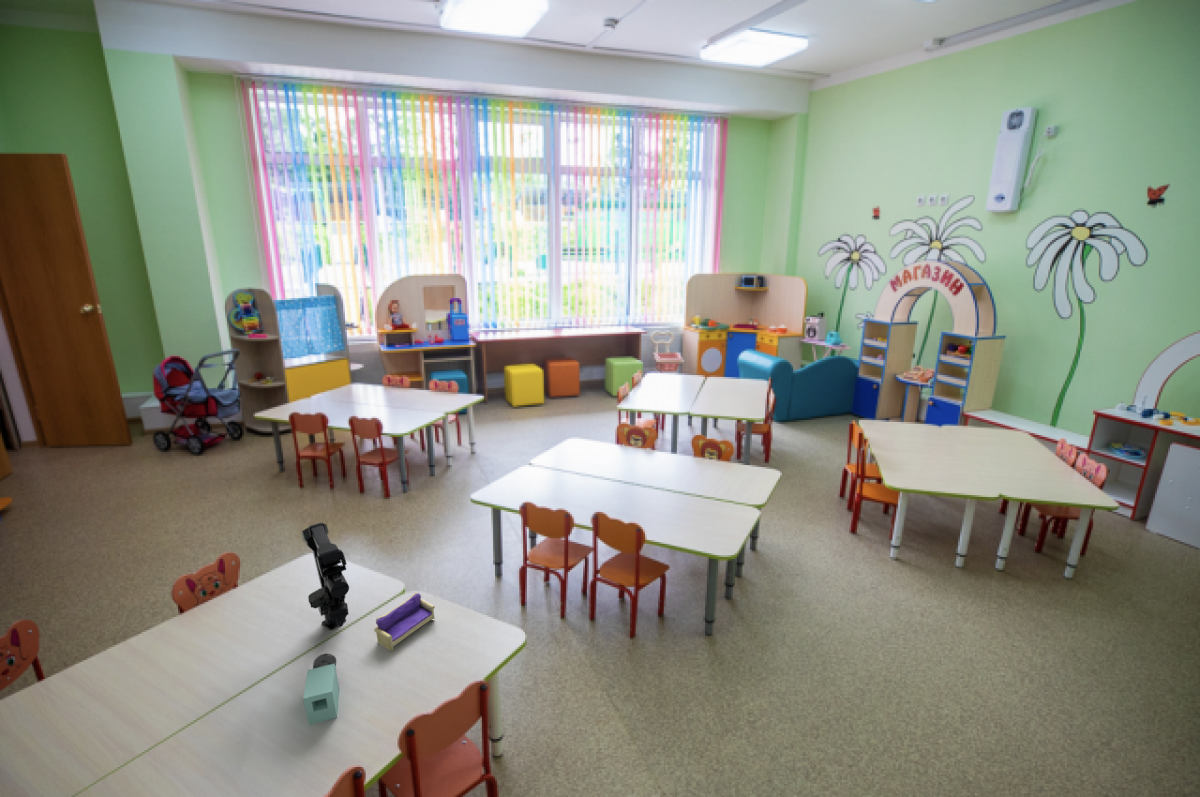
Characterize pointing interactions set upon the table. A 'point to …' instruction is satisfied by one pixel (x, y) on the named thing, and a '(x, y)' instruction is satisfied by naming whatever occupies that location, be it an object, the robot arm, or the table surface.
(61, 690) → the table surface
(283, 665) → the table surface
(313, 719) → the block
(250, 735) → the table surface
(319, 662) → the plunger
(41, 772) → the table surface
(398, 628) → the toy sofa
